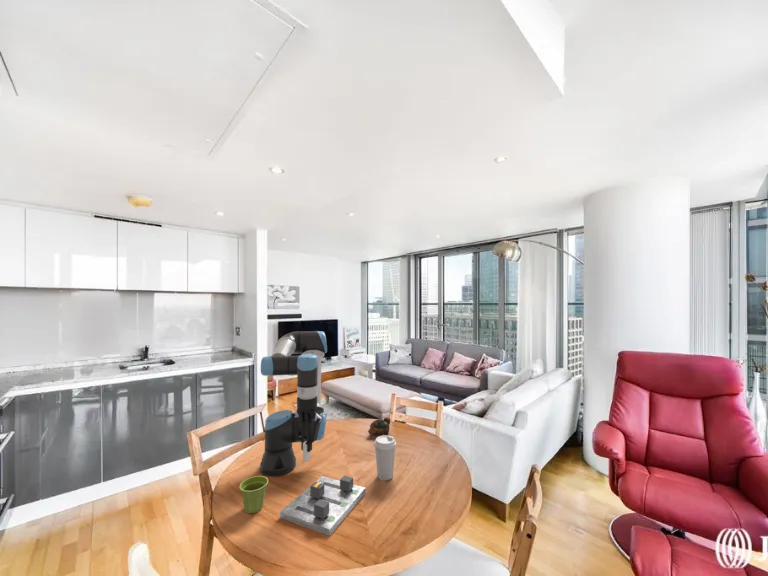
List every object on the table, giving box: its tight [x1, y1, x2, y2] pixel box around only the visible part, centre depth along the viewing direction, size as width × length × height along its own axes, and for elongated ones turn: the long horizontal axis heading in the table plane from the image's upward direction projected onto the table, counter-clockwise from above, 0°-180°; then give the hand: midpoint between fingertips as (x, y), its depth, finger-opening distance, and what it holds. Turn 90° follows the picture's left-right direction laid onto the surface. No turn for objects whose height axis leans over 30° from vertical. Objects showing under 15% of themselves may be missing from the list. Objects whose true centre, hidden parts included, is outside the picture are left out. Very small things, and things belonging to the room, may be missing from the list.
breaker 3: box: [339, 475, 354, 492], centre depth 118 cm, size 4×3×4 cm
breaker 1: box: [309, 481, 324, 499], centre depth 114 cm, size 4×3×4 cm
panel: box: [279, 475, 367, 537], centre depth 112 cm, size 20×24×2 cm
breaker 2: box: [314, 499, 329, 519], centre depth 103 cm, size 4×3×4 cm
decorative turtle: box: [367, 416, 391, 436], centre depth 173 cm, size 10×15×8 cm, turn 137°
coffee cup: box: [373, 435, 397, 481], centre depth 131 cm, size 10×10×15 cm
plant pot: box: [238, 475, 269, 515], centre depth 110 cm, size 9×9×9 cm
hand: (306, 459), depth 117 cm, fingers closed
